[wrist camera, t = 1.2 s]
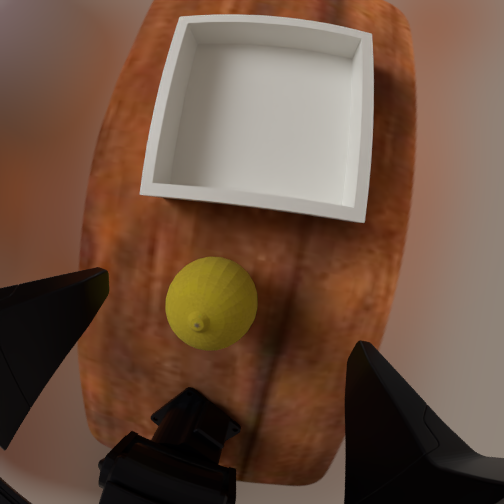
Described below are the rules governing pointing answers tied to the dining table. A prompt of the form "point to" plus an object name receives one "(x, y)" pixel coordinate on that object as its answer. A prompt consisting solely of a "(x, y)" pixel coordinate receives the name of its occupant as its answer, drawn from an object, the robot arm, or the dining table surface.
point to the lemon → (211, 303)
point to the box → (264, 116)
